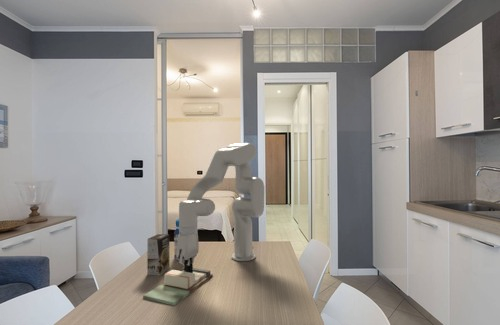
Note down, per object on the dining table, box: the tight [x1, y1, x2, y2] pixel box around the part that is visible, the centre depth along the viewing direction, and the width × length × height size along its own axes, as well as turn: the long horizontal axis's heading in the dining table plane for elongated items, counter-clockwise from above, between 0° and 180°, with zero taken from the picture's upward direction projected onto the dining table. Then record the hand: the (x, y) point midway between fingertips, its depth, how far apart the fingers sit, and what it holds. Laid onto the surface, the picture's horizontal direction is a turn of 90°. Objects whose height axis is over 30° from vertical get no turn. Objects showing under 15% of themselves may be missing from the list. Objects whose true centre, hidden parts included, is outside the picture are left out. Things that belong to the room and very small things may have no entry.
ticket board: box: [142, 267, 214, 306], centre depth 106 cm, size 26×14×3 cm, turn 158°
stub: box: [163, 269, 195, 289], centre depth 105 cm, size 5×11×4 cm, turn 68°
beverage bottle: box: [173, 218, 180, 261], centre depth 140 cm, size 8×8×20 cm
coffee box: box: [146, 233, 171, 277], centre depth 122 cm, size 9×6×16 cm
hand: (188, 273), depth 111 cm, fingers closed
